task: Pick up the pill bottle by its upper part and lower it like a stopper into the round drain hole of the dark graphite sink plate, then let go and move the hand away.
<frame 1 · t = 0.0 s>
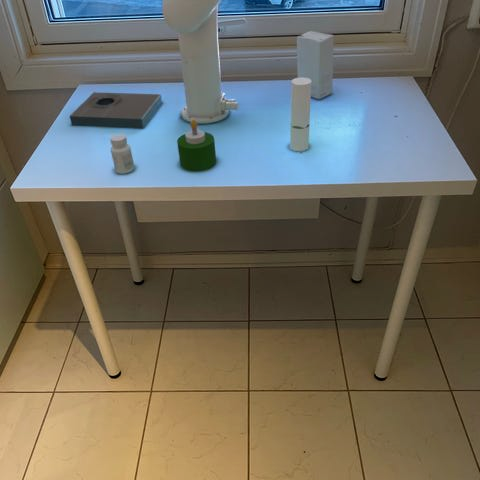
pill bottle: (125, 170, 119), on the table
sink plate: (118, 114, 141), on the table
tube: (299, 147, 123), on the table
candle: (198, 163, 120), on the table
cosmetic box: (313, 94, 145), on the table
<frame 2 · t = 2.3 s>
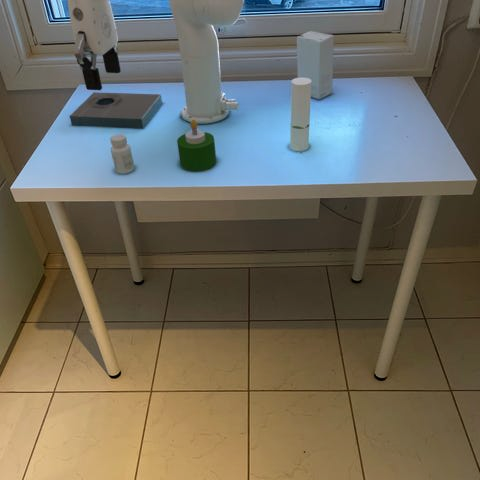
hand: (104, 80, 107), 19 cm above the table, tool pointing down, fingers open, 9 cm apart
nothing on the table moved.
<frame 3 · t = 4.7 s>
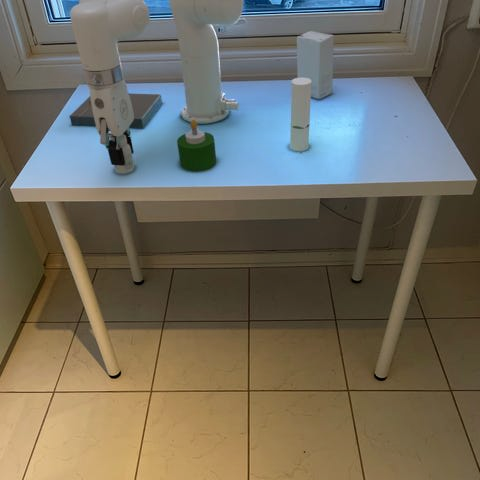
hand: (122, 158, 117), 3 cm above the table, tool pointing down, fingers closed on pill bottle, 4 cm apart
pill bottle: (125, 170, 119), on the table, touching gripper
everything else where it was.
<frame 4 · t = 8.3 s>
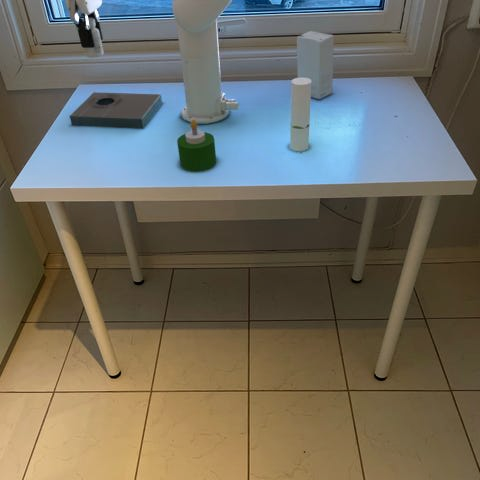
hand: (92, 42, 125), 19 cm above the table, tool pointing down, fingers closed on pill bottle, 4 cm apart
pill bottle: (95, 56, 127), point 16 cm above the table, touching gripper
everything else where it was.
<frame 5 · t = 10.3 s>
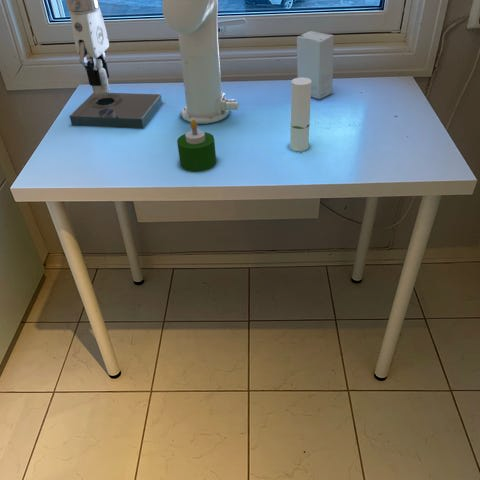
hand: (99, 80, 138), 8 cm above the table, tool pointing down, fingers closed on pill bottle, 4 cm apart
pill bottle: (101, 92, 140), point 5 cm above the table, touching gripper
everything else where it was.
when the fingers open (3 cm above the table, at t = 12.3 s): pill bottle stays where it is, resting in sink plate.
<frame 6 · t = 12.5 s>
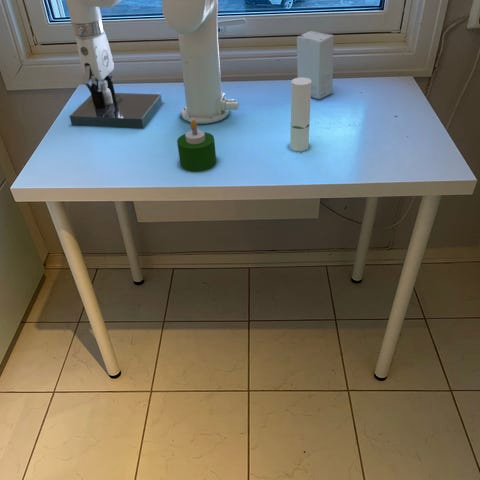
hand: (104, 100, 141), 3 cm above the table, tool pointing down, fingers open, 6 cm apart
pill bottle: (106, 111, 144), resting in sink plate
everything else where it was.
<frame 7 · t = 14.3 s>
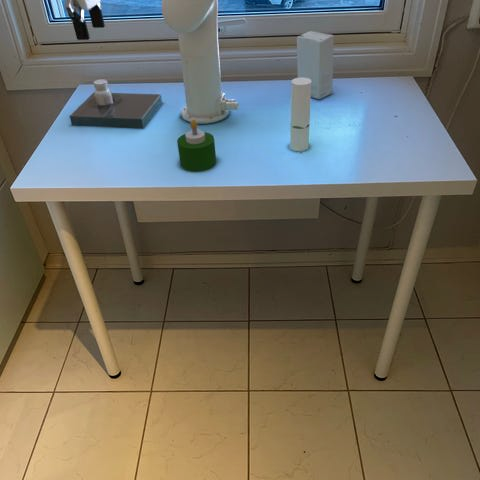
hand: (91, 33, 130), 19 cm above the table, tool pointing down, fingers open, 9 cm apart
nothing on the table moved.
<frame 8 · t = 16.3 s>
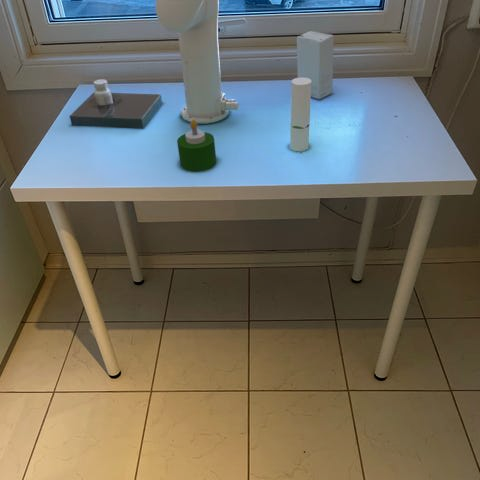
nothing on the table moved.
at the end: pill bottle 0.2 cm from the target spot in the sink plate, point 0.0 cm above the sink plate's base; pill bottle tilted 0°; the gripper is holding nothing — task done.
